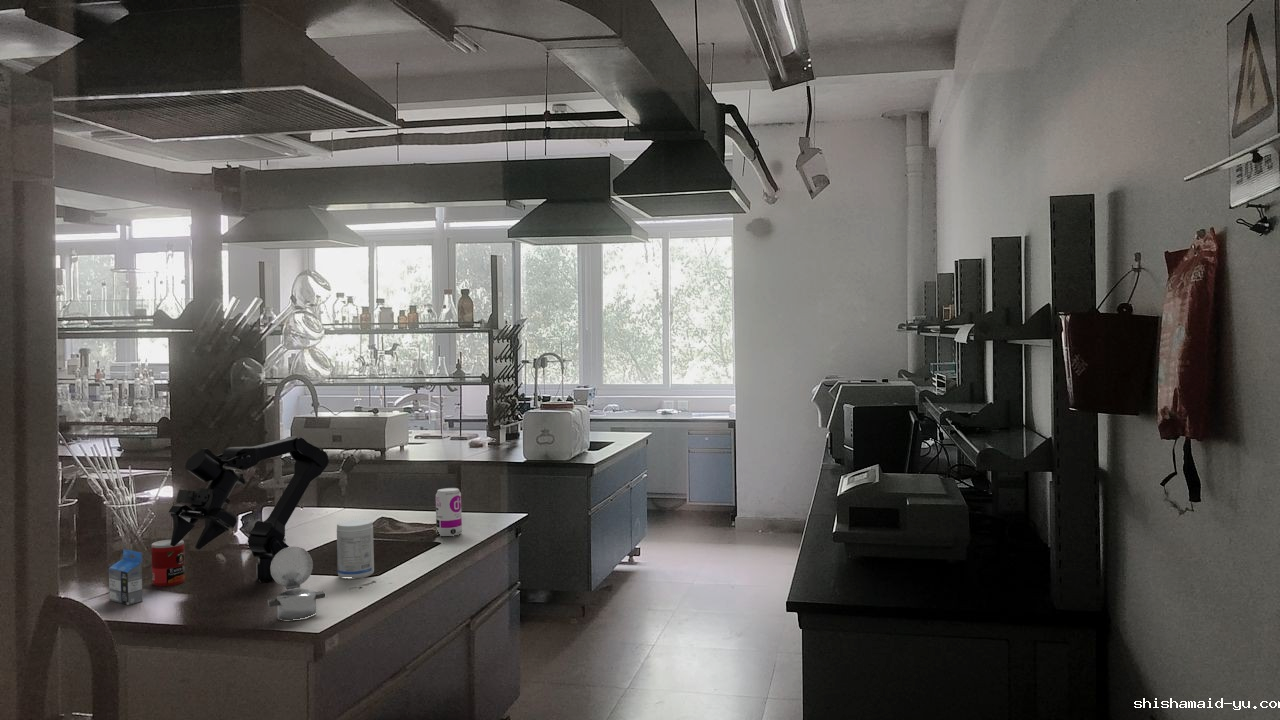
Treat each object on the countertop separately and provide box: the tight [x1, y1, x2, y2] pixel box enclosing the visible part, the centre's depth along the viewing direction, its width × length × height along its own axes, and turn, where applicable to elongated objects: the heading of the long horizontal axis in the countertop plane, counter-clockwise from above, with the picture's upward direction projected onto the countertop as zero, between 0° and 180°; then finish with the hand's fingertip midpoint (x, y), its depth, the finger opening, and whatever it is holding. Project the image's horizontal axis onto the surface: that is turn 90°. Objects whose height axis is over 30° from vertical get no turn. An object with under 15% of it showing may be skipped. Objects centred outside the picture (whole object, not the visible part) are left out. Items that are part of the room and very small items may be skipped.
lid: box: [270, 546, 314, 590], centre depth 203 cm, size 10×9×2 cm
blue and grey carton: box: [108, 548, 143, 606], centre depth 213 cm, size 9×4×12 cm, turn 59°
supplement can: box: [435, 487, 463, 537], centre depth 281 cm, size 8×8×15 cm
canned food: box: [150, 538, 186, 587], centre depth 229 cm, size 8×8×11 cm
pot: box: [267, 587, 326, 620], centre depth 198 cm, size 12×10×5 cm
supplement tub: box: [336, 518, 375, 580], centre depth 233 cm, size 10×10×15 cm
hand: (184, 547), depth 208 cm, fingers open, 9 cm apart
